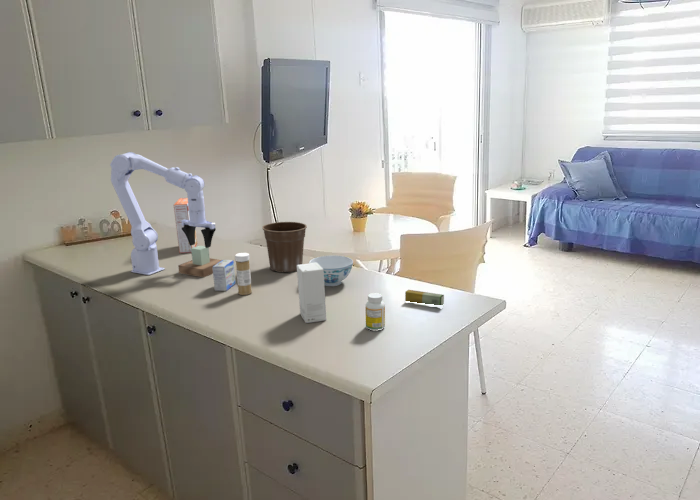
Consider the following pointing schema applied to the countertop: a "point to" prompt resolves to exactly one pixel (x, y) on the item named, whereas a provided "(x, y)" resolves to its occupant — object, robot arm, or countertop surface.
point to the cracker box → (182, 214)
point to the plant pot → (285, 245)
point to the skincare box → (311, 292)
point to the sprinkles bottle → (243, 273)
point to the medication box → (424, 297)
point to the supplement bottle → (375, 312)
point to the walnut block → (198, 268)
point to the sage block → (200, 255)
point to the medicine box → (224, 275)
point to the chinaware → (334, 268)
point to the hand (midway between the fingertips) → (200, 246)
